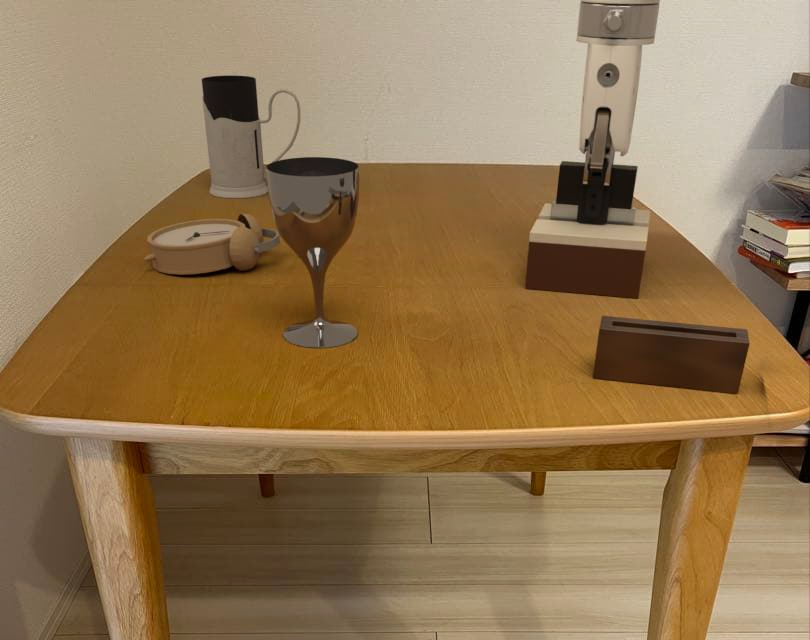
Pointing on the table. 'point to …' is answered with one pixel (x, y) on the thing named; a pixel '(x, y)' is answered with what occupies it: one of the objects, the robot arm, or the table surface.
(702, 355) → the block
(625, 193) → the dough scraper
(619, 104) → the robot arm
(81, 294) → the table surface
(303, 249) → the wine glass
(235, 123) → the glass holder
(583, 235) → the cake near
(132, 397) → the table surface
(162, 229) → the alarm clock
